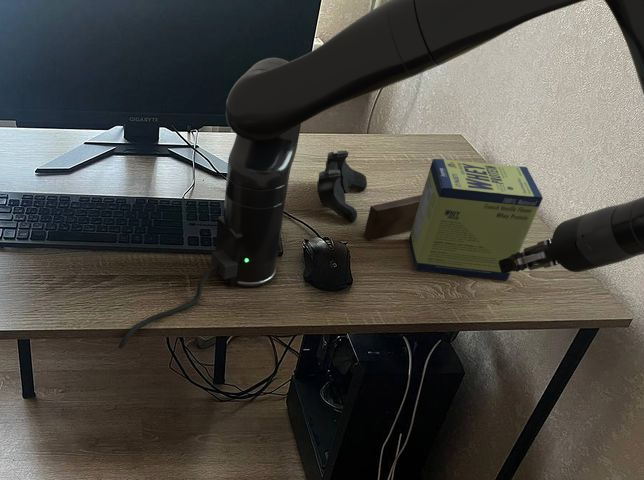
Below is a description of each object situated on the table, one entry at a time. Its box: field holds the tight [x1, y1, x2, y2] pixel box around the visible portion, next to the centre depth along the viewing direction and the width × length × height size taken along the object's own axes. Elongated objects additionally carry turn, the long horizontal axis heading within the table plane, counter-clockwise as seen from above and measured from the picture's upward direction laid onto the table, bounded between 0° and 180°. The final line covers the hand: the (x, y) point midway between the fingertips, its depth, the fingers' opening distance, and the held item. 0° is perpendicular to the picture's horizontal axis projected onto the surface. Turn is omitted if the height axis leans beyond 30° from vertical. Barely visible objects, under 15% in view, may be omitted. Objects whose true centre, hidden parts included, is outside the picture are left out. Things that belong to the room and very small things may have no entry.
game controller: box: [316, 150, 368, 224], centre depth 131 cm, size 16×7×10 cm, turn 161°
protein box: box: [408, 158, 544, 281], centre depth 115 cm, size 10×16×16 cm
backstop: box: [363, 194, 422, 241], centre depth 125 cm, size 20×2×6 cm, turn 115°
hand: (503, 266), depth 110 cm, fingers closed
